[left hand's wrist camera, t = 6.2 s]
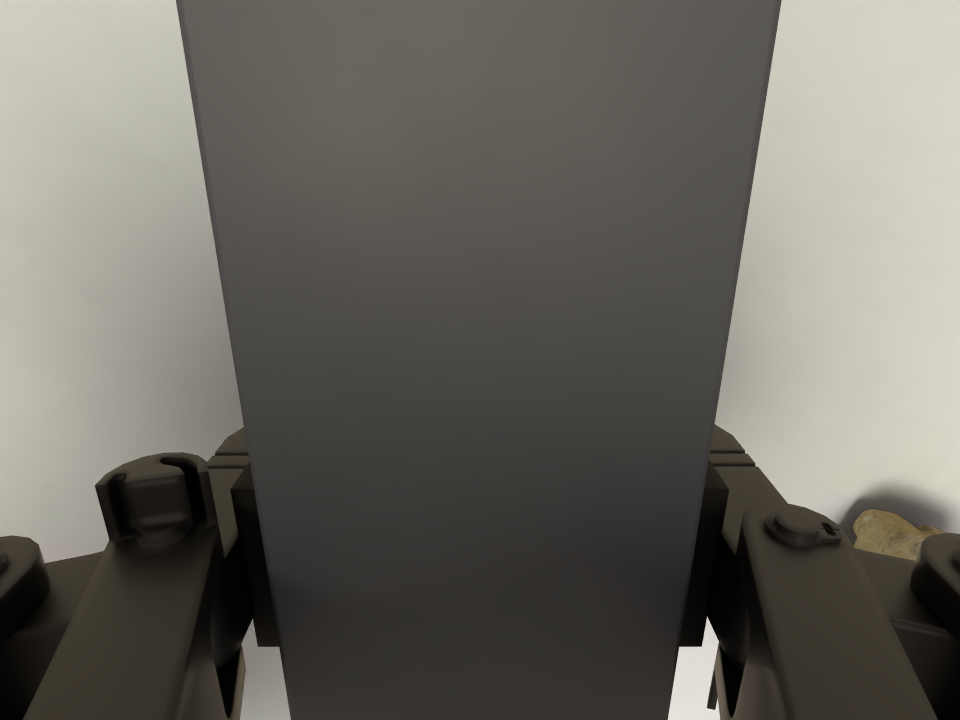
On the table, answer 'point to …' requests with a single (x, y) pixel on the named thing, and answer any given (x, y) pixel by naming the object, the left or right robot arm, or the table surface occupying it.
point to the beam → (479, 331)
